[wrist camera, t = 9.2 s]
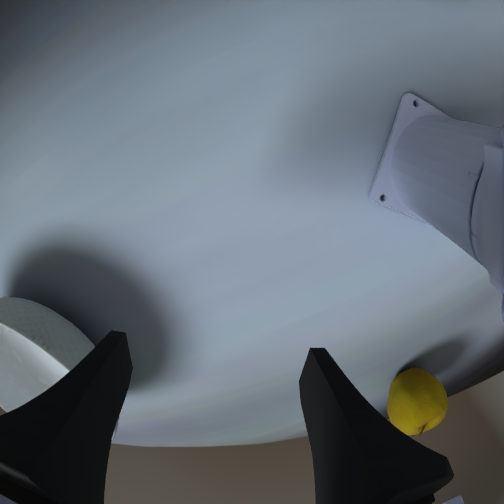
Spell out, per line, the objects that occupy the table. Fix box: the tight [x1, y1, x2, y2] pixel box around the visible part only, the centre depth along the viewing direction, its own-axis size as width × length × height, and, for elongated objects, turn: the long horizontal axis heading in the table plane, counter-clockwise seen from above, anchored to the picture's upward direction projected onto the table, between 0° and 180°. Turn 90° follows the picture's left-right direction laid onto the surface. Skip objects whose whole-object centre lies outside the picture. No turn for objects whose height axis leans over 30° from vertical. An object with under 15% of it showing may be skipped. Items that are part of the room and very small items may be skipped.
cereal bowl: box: [0, 297, 119, 439], centre depth 22 cm, size 17×17×7 cm
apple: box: [388, 367, 448, 435], centre depth 25 cm, size 6×6×8 cm
